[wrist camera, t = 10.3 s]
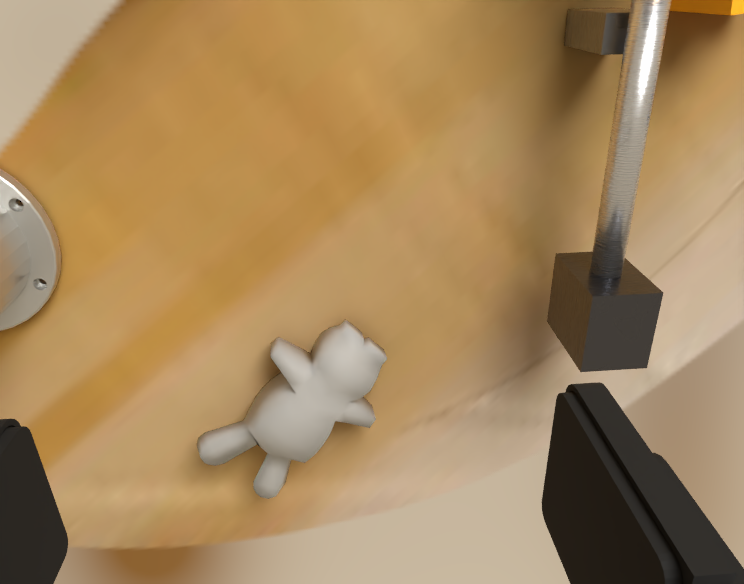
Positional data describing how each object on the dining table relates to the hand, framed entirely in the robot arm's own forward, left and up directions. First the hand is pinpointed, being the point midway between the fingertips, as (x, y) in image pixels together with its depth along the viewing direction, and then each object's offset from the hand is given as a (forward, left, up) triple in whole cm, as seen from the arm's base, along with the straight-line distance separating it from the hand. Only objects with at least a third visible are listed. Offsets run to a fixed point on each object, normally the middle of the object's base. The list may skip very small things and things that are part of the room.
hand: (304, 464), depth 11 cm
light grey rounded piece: (-12, -16, -31) cm, 37 cm away
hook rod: (+14, -10, -26) cm, 31 cm away
